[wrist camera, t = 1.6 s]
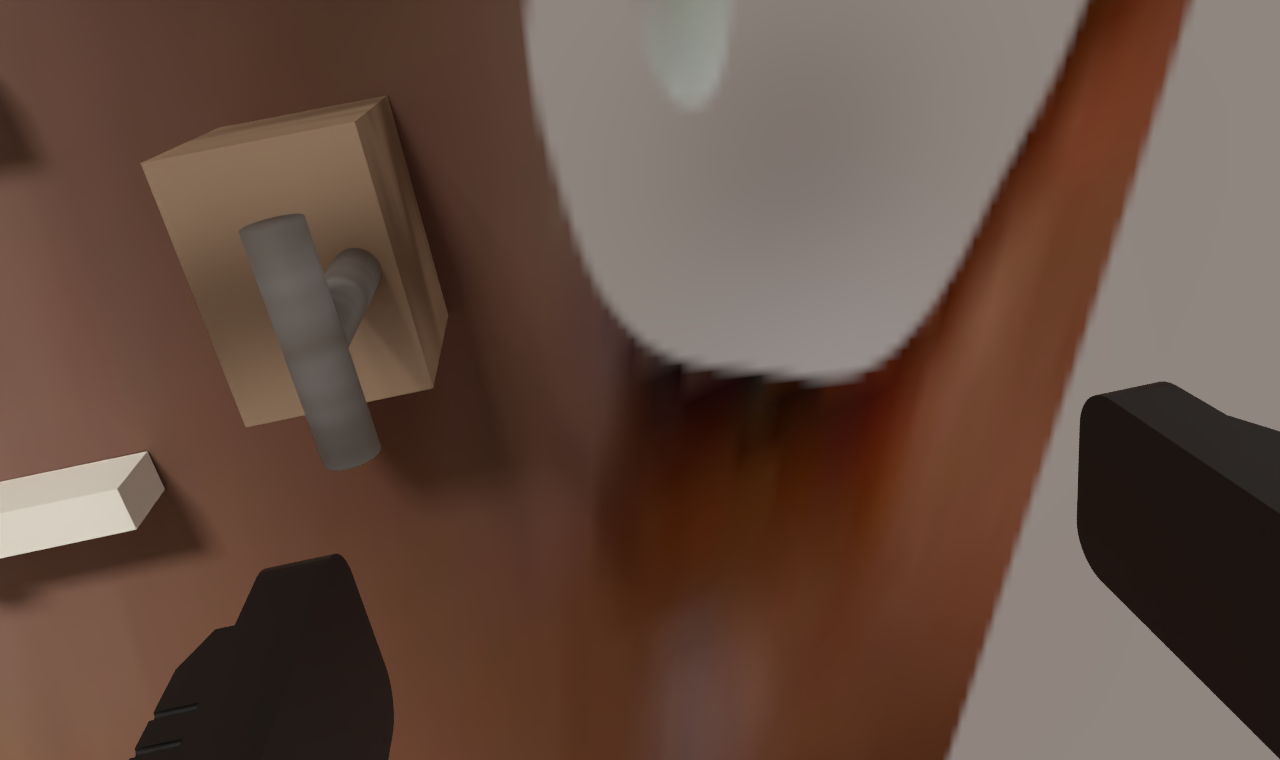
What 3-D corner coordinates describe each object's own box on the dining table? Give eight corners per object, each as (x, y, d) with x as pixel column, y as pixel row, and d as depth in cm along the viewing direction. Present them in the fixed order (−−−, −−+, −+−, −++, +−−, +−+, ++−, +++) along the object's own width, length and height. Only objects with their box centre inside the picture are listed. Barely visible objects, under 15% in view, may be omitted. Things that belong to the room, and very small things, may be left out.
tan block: (218, 127, 26) (13, 221, 16) (387, 94, 27) (301, 165, 16) (296, 346, 29) (168, 552, 18) (448, 314, 29) (409, 500, 19)
